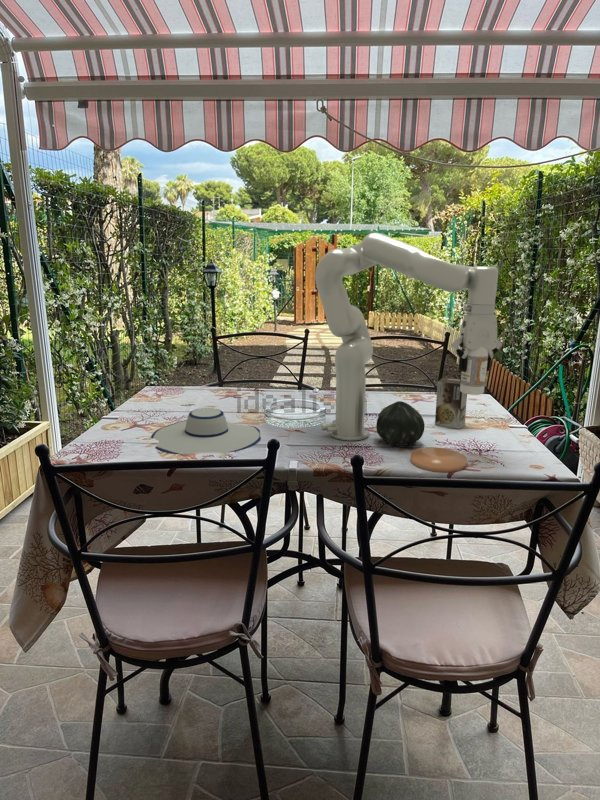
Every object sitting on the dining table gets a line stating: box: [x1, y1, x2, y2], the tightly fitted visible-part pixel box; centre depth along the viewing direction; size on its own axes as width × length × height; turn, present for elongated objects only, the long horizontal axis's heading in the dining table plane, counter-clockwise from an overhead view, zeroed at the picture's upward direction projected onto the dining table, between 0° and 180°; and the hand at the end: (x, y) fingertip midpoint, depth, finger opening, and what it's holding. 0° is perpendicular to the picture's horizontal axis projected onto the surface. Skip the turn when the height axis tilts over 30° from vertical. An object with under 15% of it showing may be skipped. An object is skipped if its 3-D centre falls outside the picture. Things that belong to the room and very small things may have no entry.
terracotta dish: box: [409, 446, 468, 473], centre depth 160 cm, size 16×16×2 cm
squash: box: [375, 400, 426, 448], centre depth 175 cm, size 14×15×15 cm
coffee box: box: [434, 377, 468, 430], centre depth 192 cm, size 9×6×16 cm
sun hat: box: [150, 407, 262, 455], centre depth 181 cm, size 36×36×9 cm
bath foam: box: [460, 347, 488, 396], centre depth 163 cm, size 7×7×20 cm
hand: (474, 370), depth 164 cm, fingers closed on bath foam, 7 cm apart
